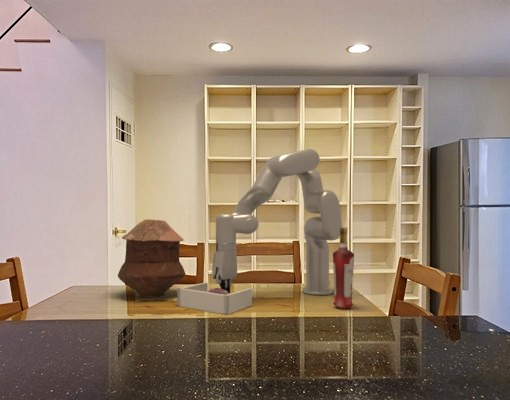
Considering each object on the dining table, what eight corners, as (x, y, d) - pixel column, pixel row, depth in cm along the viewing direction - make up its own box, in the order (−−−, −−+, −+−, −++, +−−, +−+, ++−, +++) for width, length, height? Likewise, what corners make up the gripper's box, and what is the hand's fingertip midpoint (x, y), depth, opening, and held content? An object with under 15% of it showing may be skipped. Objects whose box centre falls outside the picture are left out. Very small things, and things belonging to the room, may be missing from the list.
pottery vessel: (102, 298, 148) (104, 219, 149) (145, 286, 172) (146, 218, 173) (159, 304, 138) (160, 220, 139) (196, 291, 162) (197, 219, 163)
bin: (204, 298, 150) (205, 282, 150) (251, 305, 138) (252, 288, 139) (177, 305, 137) (177, 288, 137) (226, 314, 126) (227, 295, 126)
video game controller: (228, 311, 136) (234, 291, 139) (222, 307, 133) (227, 287, 136) (206, 307, 142) (211, 288, 144) (199, 303, 138) (205, 284, 141)
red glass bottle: (337, 304, 141) (337, 227, 142) (357, 307, 137) (357, 227, 138) (329, 308, 135) (329, 227, 136) (349, 311, 131) (349, 228, 132)
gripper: (229, 245, 152) (228, 293, 151) (204, 248, 139) (204, 300, 139) (245, 246, 148) (245, 295, 147) (221, 249, 135) (221, 303, 135)
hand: (225, 297), depth 143 cm, fingers closed
